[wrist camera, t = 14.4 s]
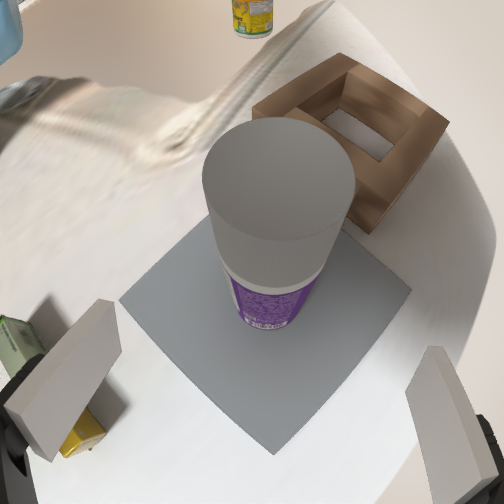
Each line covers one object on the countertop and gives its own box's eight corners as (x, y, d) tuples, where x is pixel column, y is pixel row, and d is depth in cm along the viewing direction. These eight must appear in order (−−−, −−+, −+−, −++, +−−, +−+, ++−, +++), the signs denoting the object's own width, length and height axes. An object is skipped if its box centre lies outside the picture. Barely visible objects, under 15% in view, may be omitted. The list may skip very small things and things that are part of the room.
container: (313, 296, 23) (387, 170, 9) (270, 345, 22) (290, 282, 8) (265, 255, 24) (271, 95, 10) (221, 301, 23) (164, 176, 9)
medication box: (14, 340, 22) (-15, 332, 18) (30, 320, 23) (1, 311, 19) (90, 451, 19) (64, 460, 15) (110, 433, 20) (84, 441, 16)
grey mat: (120, 301, 23) (118, 300, 23) (261, 170, 27) (261, 167, 27) (273, 454, 19) (273, 455, 19) (409, 291, 23) (412, 290, 23)
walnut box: (252, 146, 28) (251, 107, 24) (332, 87, 32) (339, 52, 27) (369, 234, 25) (390, 204, 20) (430, 153, 28) (450, 121, 24)
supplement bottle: (277, 37, 36) (280, -23, 27) (239, 42, 36) (236, -19, 27) (265, 21, 38) (265, -33, 29) (229, 26, 38) (225, -29, 29)
